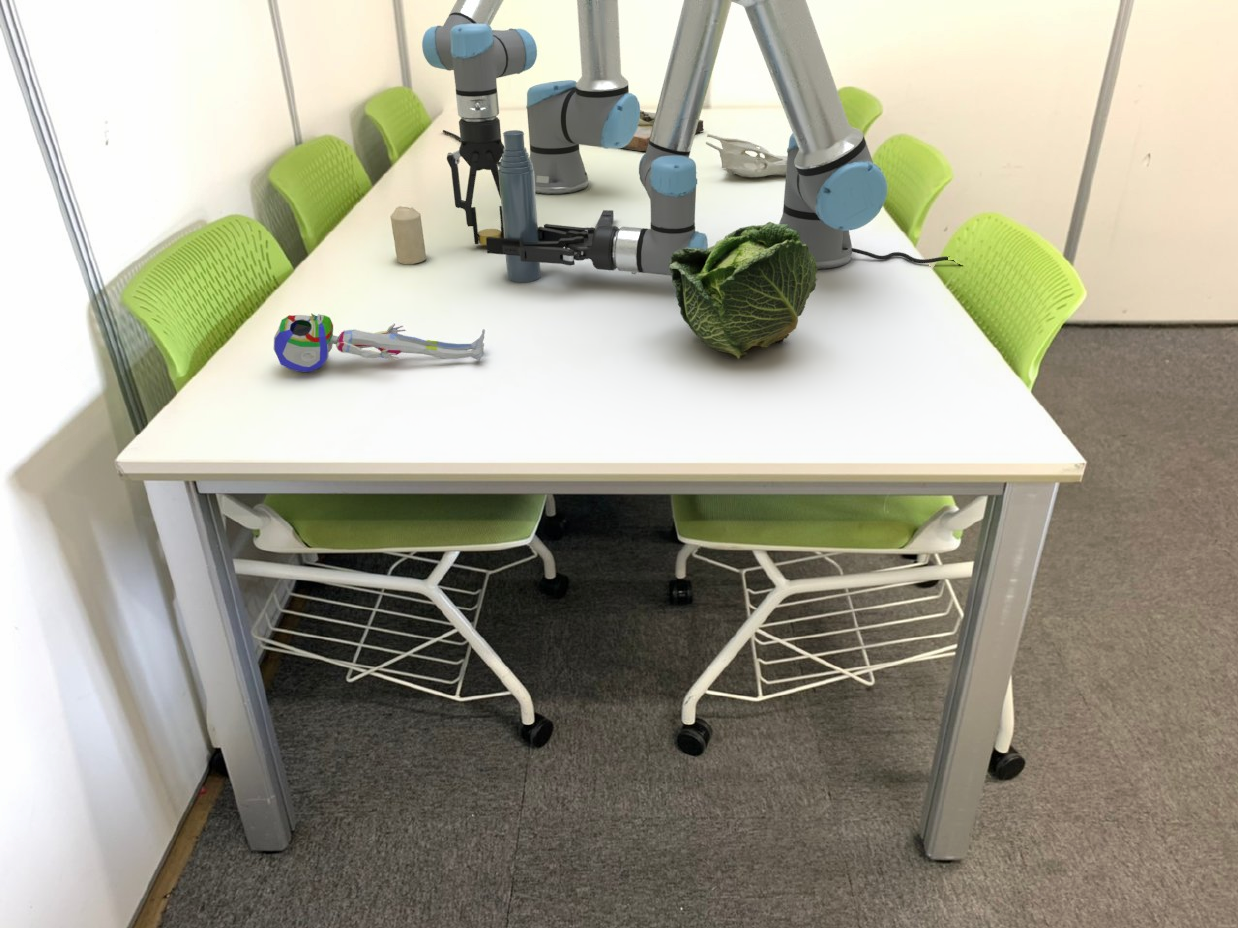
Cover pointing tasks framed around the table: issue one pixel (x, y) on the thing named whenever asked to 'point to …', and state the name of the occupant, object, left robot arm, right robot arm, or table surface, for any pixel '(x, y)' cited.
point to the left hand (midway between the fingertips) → (490, 241)
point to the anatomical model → (748, 158)
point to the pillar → (606, 218)
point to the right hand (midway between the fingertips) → (495, 239)
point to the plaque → (648, 131)
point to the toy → (354, 343)
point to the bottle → (518, 203)
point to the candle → (408, 235)
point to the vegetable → (744, 287)
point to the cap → (488, 235)
